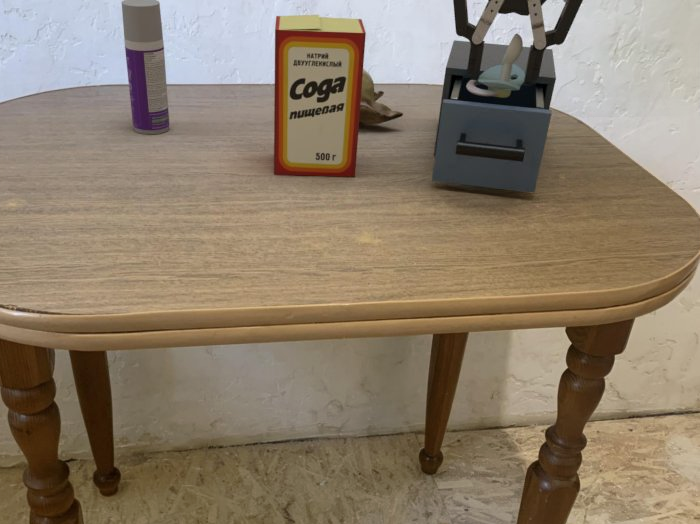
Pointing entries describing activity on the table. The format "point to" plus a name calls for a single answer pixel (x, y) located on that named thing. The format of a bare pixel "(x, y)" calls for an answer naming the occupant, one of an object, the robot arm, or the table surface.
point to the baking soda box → (317, 94)
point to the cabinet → (492, 58)
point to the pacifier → (501, 74)
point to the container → (146, 65)
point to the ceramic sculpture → (373, 104)
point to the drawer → (492, 138)
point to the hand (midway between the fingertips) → (501, 80)
